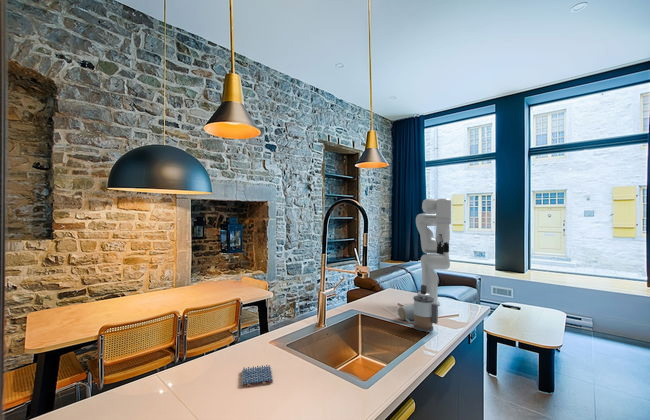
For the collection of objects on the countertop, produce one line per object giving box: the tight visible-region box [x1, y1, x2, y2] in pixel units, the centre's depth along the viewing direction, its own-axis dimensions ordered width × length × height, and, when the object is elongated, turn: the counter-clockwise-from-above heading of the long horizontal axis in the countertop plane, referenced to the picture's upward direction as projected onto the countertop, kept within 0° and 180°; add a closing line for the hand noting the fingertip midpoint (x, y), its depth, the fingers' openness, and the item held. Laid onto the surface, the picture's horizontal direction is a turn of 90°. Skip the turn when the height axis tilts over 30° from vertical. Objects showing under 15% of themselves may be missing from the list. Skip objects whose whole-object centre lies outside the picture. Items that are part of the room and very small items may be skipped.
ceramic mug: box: [397, 304, 414, 325], centre depth 157 cm, size 11×8×8 cm
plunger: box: [416, 284, 430, 299], centre depth 147 cm, size 6×6×13 cm
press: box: [412, 294, 439, 332], centre depth 147 cm, size 10×12×15 cm
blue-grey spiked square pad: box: [240, 364, 274, 389], centre depth 100 cm, size 10×11×2 cm
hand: (443, 253), depth 158 cm, fingers open, 9 cm apart
